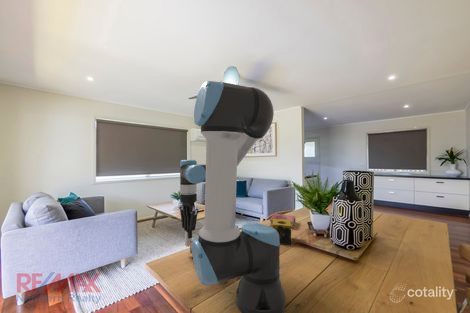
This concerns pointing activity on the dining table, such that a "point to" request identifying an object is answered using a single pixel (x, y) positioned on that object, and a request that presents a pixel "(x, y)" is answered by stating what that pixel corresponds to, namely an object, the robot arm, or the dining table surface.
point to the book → (283, 217)
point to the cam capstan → (190, 246)
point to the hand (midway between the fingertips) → (188, 244)
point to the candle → (283, 230)
